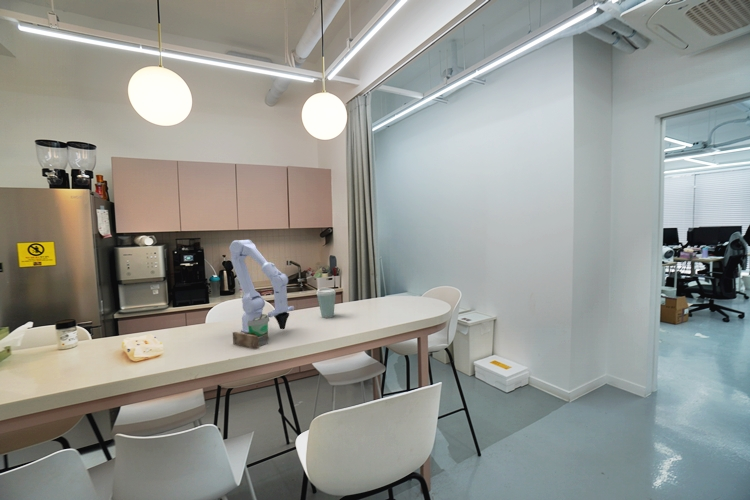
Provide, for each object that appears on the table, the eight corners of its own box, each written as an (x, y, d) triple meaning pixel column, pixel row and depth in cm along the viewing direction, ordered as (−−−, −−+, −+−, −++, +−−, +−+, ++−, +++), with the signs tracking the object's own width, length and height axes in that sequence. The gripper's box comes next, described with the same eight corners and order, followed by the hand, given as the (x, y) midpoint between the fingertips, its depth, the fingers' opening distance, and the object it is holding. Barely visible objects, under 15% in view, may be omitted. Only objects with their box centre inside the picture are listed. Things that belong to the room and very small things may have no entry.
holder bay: (233, 344, 141) (232, 332, 141) (247, 338, 147) (246, 327, 147) (256, 348, 134) (255, 336, 134) (269, 343, 140) (269, 331, 140)
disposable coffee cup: (341, 315, 183) (339, 288, 182) (328, 320, 174) (326, 291, 173) (326, 313, 188) (325, 287, 187) (313, 317, 179) (311, 290, 178)
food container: (262, 344, 139) (260, 321, 138) (248, 344, 140) (247, 321, 139) (275, 335, 151) (274, 313, 151) (262, 335, 152) (261, 313, 151)
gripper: (275, 304, 147) (276, 334, 148) (298, 297, 160) (299, 325, 160) (264, 302, 151) (265, 332, 152) (287, 296, 163) (288, 323, 164)
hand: (282, 328), depth 156 cm, fingers closed
